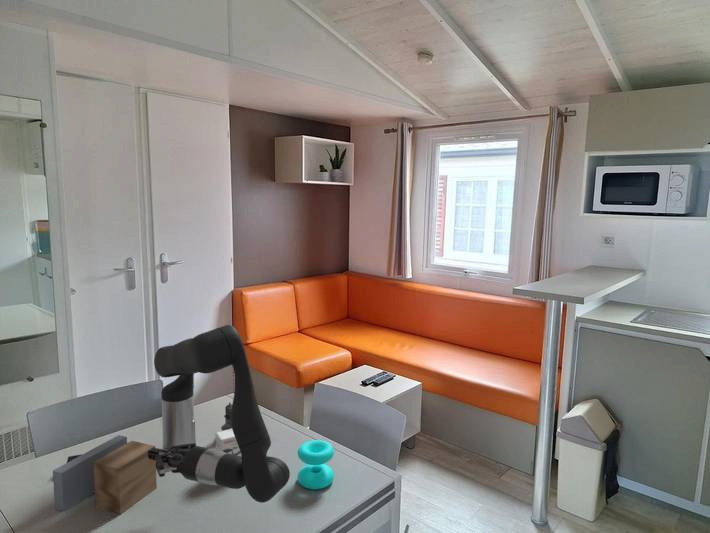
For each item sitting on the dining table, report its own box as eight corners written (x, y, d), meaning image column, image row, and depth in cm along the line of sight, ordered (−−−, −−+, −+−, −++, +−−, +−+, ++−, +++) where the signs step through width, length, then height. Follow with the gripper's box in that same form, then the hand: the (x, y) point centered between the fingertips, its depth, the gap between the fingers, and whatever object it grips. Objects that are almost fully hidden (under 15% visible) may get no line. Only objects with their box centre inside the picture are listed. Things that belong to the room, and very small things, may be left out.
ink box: (221, 479, 131) (220, 439, 129) (215, 471, 135) (214, 432, 133) (250, 471, 135) (250, 431, 134) (244, 463, 139) (243, 425, 138)
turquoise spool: (317, 434, 137) (341, 447, 130) (317, 467, 138) (341, 481, 131) (290, 446, 130) (314, 460, 123) (290, 481, 131) (314, 496, 124)
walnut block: (156, 488, 126) (155, 445, 125) (120, 515, 115) (118, 468, 114) (133, 482, 129) (131, 440, 128) (95, 507, 118) (93, 462, 116)
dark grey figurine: (219, 434, 157) (219, 400, 155) (237, 431, 159) (237, 397, 158) (222, 442, 151) (222, 407, 150) (241, 439, 154) (240, 404, 152)
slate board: (128, 470, 135) (126, 436, 134) (63, 511, 116) (61, 473, 115) (120, 467, 136) (118, 434, 135) (55, 508, 117) (52, 470, 116)
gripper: (224, 438, 117) (168, 427, 123) (188, 464, 105) (128, 450, 111) (224, 467, 118) (169, 454, 124) (189, 496, 106) (129, 480, 112)
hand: (150, 452), depth 117 cm, fingers closed
